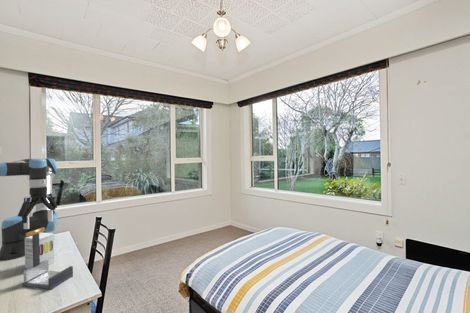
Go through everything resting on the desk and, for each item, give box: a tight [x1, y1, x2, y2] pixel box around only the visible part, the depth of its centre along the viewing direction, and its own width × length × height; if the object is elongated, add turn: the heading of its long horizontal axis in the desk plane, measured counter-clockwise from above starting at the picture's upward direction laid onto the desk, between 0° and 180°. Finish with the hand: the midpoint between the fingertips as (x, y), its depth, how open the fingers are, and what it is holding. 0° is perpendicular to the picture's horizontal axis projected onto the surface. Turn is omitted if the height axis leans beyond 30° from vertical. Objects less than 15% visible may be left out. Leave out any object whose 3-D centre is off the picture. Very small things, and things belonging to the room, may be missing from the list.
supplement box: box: [24, 232, 55, 269], centre depth 133 cm, size 10×9×17 cm
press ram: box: [23, 227, 49, 282], centre depth 118 cm, size 11×2×23 cm, turn 171°
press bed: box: [21, 265, 74, 291], centre depth 117 cm, size 12×16×5 cm
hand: (39, 224), depth 132 cm, fingers open, 13 cm apart
